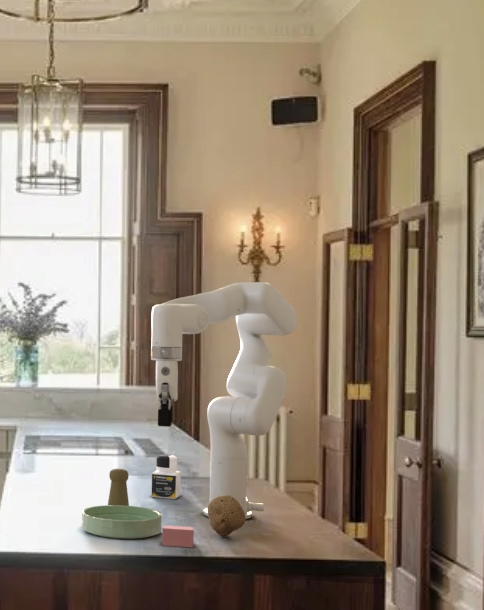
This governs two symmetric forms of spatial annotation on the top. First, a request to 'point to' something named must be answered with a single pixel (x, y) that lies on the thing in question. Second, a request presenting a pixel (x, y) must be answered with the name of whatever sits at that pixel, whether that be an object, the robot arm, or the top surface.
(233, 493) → the robot arm
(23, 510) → the top surface
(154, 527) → the bowl
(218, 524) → the natural sponge
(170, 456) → the medicine bottle
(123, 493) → the cork
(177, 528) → the eraser
